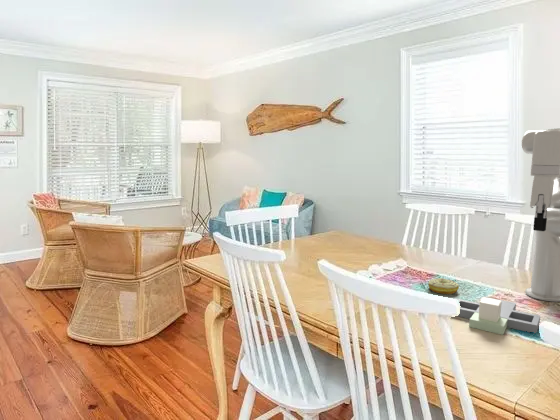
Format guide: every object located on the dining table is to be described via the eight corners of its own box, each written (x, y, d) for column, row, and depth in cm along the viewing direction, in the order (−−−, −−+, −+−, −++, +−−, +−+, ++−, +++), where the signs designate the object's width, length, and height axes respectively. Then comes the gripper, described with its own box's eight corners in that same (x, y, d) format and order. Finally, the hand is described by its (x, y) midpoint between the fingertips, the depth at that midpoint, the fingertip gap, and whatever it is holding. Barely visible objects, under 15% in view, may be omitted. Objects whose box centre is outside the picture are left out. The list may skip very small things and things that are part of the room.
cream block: (482, 312, 132) (483, 296, 131) (500, 316, 129) (501, 300, 128) (478, 318, 128) (479, 302, 127) (497, 322, 125) (498, 305, 124)
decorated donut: (457, 288, 163) (458, 278, 162) (458, 297, 153) (459, 286, 152) (428, 284, 166) (429, 275, 166) (427, 293, 157) (428, 283, 156)
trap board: (462, 299, 150) (462, 292, 150) (542, 315, 136) (543, 308, 136) (443, 320, 132) (443, 312, 131) (533, 341, 118) (534, 333, 117)
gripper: (533, 169, 139) (528, 225, 142) (527, 171, 127) (522, 232, 130) (561, 170, 135) (555, 228, 138) (557, 172, 123) (551, 235, 126)
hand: (539, 230), depth 134 cm, fingers closed
